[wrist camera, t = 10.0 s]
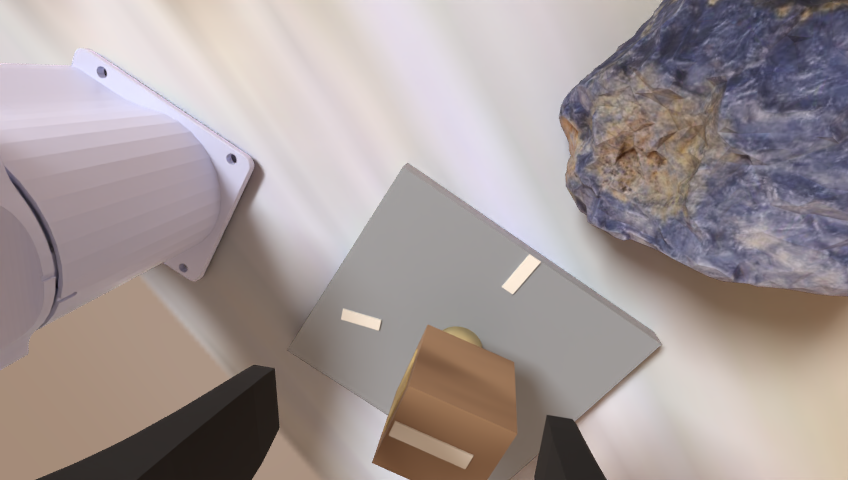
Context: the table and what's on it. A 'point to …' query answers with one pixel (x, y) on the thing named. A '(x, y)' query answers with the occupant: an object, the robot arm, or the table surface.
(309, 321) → the plate
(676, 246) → the rock
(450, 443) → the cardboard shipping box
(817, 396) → the table surface
